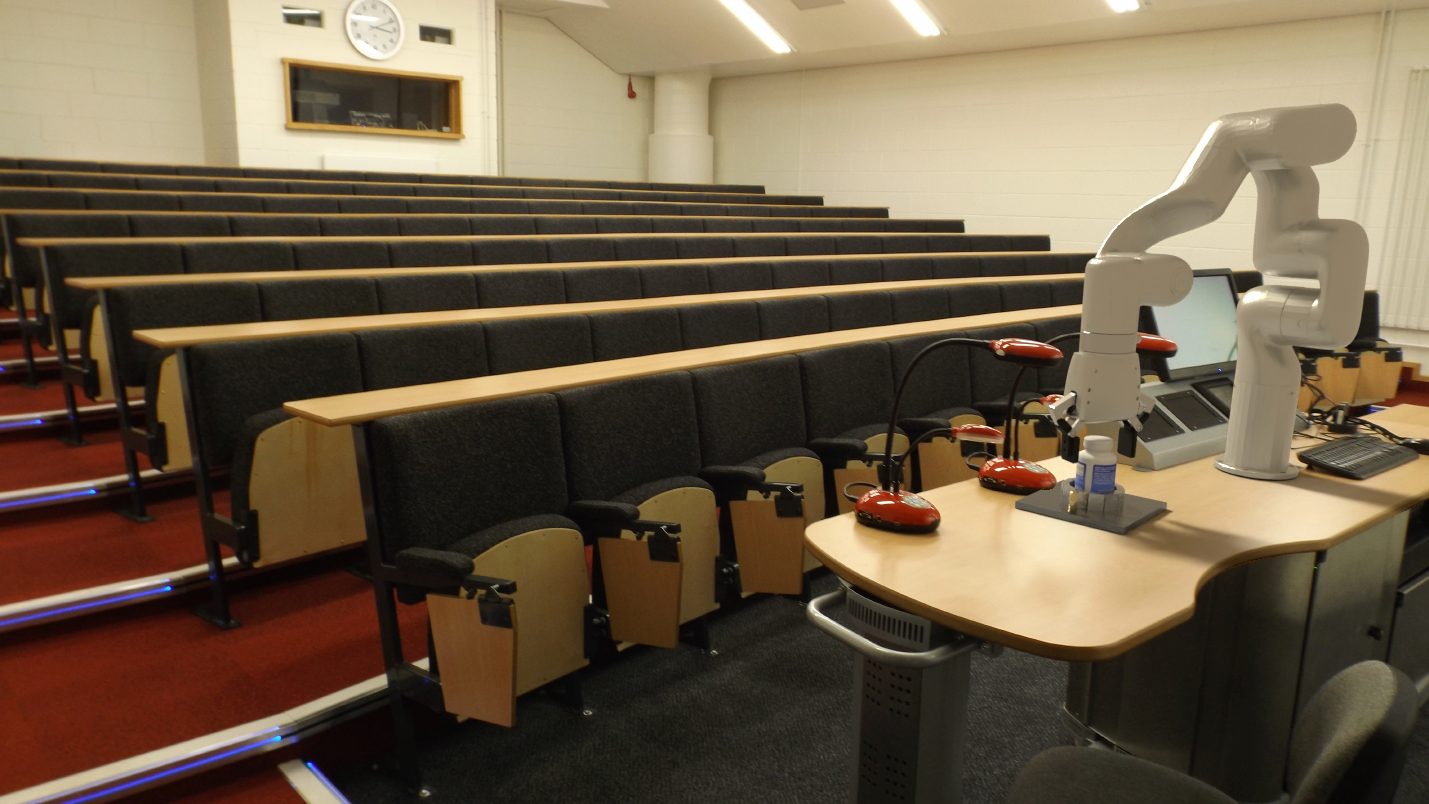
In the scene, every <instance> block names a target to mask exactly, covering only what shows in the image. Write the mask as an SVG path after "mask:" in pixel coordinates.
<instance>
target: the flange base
mask: <svg viewBox="0 0 1429 804" xmlns="http://www.w3.org/2000/svg"><path fill="white" fill-rule="evenodd" d="M1075 480H1076V477H1070V478H1066V479H1061V480H1060V481H1057V482H1055V483H1056V486H1055V487H1054V488H1053V489H1050V490H1042V489H1040V490H1038V491H1036V492H1033V493H1031V494H1029V495H1026V496H1025V497H1022V498H1020V499H1017V500H1016V501H1015V502H1014V509H1019V510H1023V511H1027V512H1030V513H1034V514H1039V515H1042V516H1045V517H1046V516H1047V517H1051V518H1055V519H1059V520H1063V521H1066V522H1069V523H1070V522H1071V523H1074V524H1079V525H1083V526H1087V527H1091V528H1094V529H1099V530H1103V531H1107V532H1111V533H1115V534H1120V535H1123V536H1124V535H1126V534H1128V533H1130V532H1131V531H1133V530H1134V529H1137V528H1138V527H1139V526H1141V525H1142V524H1144V523H1146V522H1148V521H1149V520H1150V519H1152V518H1154V517H1156V516H1157V515H1159V514H1161V513H1162V512H1164V511H1165V510H1167V507H1168V502H1167V501H1162V500H1156V499H1153V498H1147V497H1143V496H1140V495H1139V496H1138V495H1135V494H1129V493H1126V489H1125V488H1124V486H1123V485H1121V484H1118V483H1117V482H1115V487H1114V491H1113V492H1105V493H1099V492H1089V491H1084V490H1080V489H1076V488H1075Z"/></svg>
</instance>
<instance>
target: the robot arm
mask: <svg viewBox="0 0 1429 804" xmlns="http://www.w3.org/2000/svg"><path fill="white" fill-rule="evenodd" d="M1357 124H1358V123H1357V119H1356V117H1355V114H1354V113H1353V111H1352V109H1350V108H1349V107H1347V106H1346V105H1344V104H1341V103H1339V102H1338V103H1337V102H1333V103H1319V104H1309V105H1297V106H1296V105H1295V106H1280V107H1270V108H1263V109H1262V108H1261V109H1257V110H1256V109H1255V110H1252V111H1240V112H1233V113H1227V114H1224V115H1221V116H1218V117H1217V118H1215V119H1213V120H1212V121H1211V122H1210V123H1209V124H1208V125H1207V126H1206V128H1205V129H1204V130H1203V132H1202V134H1201V136H1200V137H1199V139H1198V140H1197V141H1196V142H1195V145H1194V147H1193V148H1192V150H1191V151H1190V152H1189V154H1188V156H1187V158H1186V160H1185V161H1184V162H1183V163H1182V166H1181V167H1180V168H1179V171H1178V172H1177V173H1176V175H1175V177H1174V179H1173V180H1172V182H1171V183H1170V185H1169V187H1167V189H1166V190H1164V191H1163V192H1161V193H1160V194H1158V195H1156V196H1154V197H1153V198H1151V199H1149V200H1148V201H1146V202H1145V203H1144V204H1142V205H1141V206H1139V207H1138V208H1136V209H1135V210H1133V211H1132V212H1131V213H1129V214H1128V215H1127V216H1125V217H1124V218H1123V219H1122V220H1120V221H1119V222H1118V223H1117V224H1116V225H1115V226H1114V227H1113V228H1112V229H1111V230H1110V232H1109V234H1108V236H1107V237H1106V238H1105V239H1104V241H1103V243H1102V245H1101V246H1100V248H1099V249H1098V251H1097V253H1096V254H1095V257H1093V258H1091V259H1090V260H1088V261H1087V263H1086V266H1085V268H1084V269H1085V270H1084V280H1083V281H1084V282H1083V293H1082V295H1083V296H1082V305H1081V319H1080V320H1081V321H1080V333H1079V346H1078V351H1074V352H1073V355H1072V357H1071V360H1070V363H1069V366H1068V371H1067V374H1066V375H1067V376H1066V380H1065V385H1064V386H1065V387H1064V392H1063V397H1062V398H1060V399H1058V400H1056V401H1055V402H1053V403H1052V404H1050V405H1049V406H1048V407H1047V409H1048V413H1049V416H1050V418H1051V419H1052V424H1053V425H1054V426H1055V427H1056V429H1057V430H1058V433H1060V434H1061V441H1060V442H1061V444H1060V457H1061V459H1062V460H1064V461H1066V462H1068V463H1071V464H1077V462H1078V460H1079V452H1080V445H1081V437H1080V436H1077V435H1078V434H1079V433H1080V431H1081V430H1082V429H1083V427H1085V425H1086V424H1100V423H1112V422H1120V424H1121V425H1122V426H1120V427H1119V429H1118V437H1117V438H1118V440H1117V448H1116V449H1117V450H1116V452H1117V453H1118V454H1119V455H1121V456H1124V457H1126V458H1128V459H1134V458H1136V453H1137V443H1138V442H1137V441H1138V434H1139V433H1138V432H1140V431H1142V430H1143V425H1144V424H1145V423H1146V422H1147V421H1148V419H1150V413H1152V410H1153V409H1154V407H1155V405H1156V400H1155V399H1153V398H1152V397H1151V396H1149V395H1146V394H1145V393H1143V392H1141V382H1142V381H1141V366H1140V365H1141V363H1140V357H1139V353H1137V351H1136V350H1137V344H1140V343H1141V342H1142V335H1141V334H1140V333H1138V329H1139V318H1140V307H1142V306H1145V307H1146V306H1147V307H1157V308H1165V307H1170V306H1174V305H1177V304H1178V303H1180V302H1182V301H1183V300H1184V299H1185V298H1187V296H1188V295H1189V293H1190V292H1191V290H1192V288H1193V285H1194V272H1193V270H1192V268H1191V266H1190V264H1189V263H1188V262H1187V261H1186V260H1184V259H1183V258H1182V257H1179V256H1176V255H1173V254H1165V253H1151V252H1146V251H1147V250H1148V249H1150V248H1151V247H1153V246H1154V245H1156V244H1158V243H1160V242H1162V241H1165V240H1167V239H1169V238H1172V237H1174V236H1175V237H1176V236H1178V235H1180V234H1181V235H1182V234H1184V233H1187V232H1191V231H1193V230H1196V229H1200V228H1202V227H1204V226H1207V225H1209V224H1212V223H1213V222H1216V221H1218V220H1219V219H1220V218H1221V217H1222V216H1223V215H1224V214H1225V212H1226V210H1227V209H1228V207H1229V205H1230V203H1231V202H1232V200H1233V198H1234V197H1235V195H1236V194H1237V192H1238V191H1239V188H1240V187H1241V185H1242V184H1243V182H1244V180H1245V179H1246V177H1247V176H1248V174H1249V173H1250V174H1251V176H1252V178H1253V180H1254V183H1255V184H1254V185H1256V192H1257V198H1256V201H1257V202H1256V213H1255V214H1256V215H1255V221H1254V223H1255V224H1254V236H1253V245H1252V261H1253V262H1252V263H1253V266H1254V268H1255V270H1257V272H1259V273H1260V274H1263V275H1266V276H1269V277H1276V278H1290V279H1301V280H1302V279H1303V280H1315V281H1317V280H1318V281H1319V288H1318V287H1305V286H1298V285H1286V284H1285V285H1284V284H1264V285H1258V286H1255V287H1253V288H1250V289H1249V290H1247V291H1246V292H1245V293H1244V294H1243V295H1242V296H1241V297H1240V298H1239V300H1238V303H1237V305H1236V310H1235V311H1236V312H1235V322H1236V323H1235V325H1236V334H1237V335H1236V336H1237V352H1236V353H1237V354H1236V355H1237V357H1236V365H1235V373H1234V380H1233V387H1232V397H1231V405H1230V412H1229V420H1228V428H1227V435H1226V436H1227V437H1226V442H1225V444H1226V445H1225V451H1224V454H1220V455H1217V456H1215V457H1214V459H1213V466H1214V467H1215V468H1216V469H1219V470H1220V471H1223V472H1225V473H1229V474H1232V475H1236V476H1241V477H1245V478H1250V479H1251V478H1252V479H1258V480H1259V479H1261V480H1270V481H1271V480H1273V481H1274V480H1275V481H1276V480H1277V481H1279V480H1280V481H1281V480H1282V481H1283V480H1290V479H1295V478H1297V477H1298V476H1299V472H1300V471H1299V468H1298V467H1297V466H1296V465H1295V464H1293V463H1291V462H1290V456H1291V451H1292V443H1293V435H1294V429H1295V428H1294V427H1295V422H1296V415H1297V408H1298V403H1299V394H1300V387H1301V383H1302V382H1301V381H1302V368H1301V363H1300V360H1299V358H1298V356H1297V354H1296V352H1295V350H1294V348H1293V347H1294V346H1295V347H1303V348H1310V349H1318V350H1329V351H1330V350H1331V351H1333V350H1334V351H1335V350H1336V351H1337V350H1340V349H1344V348H1346V347H1348V345H1350V344H1352V342H1353V341H1354V339H1355V337H1356V336H1357V334H1358V331H1359V328H1360V326H1361V325H1360V324H1361V320H1362V313H1363V306H1364V297H1365V291H1366V290H1365V289H1366V282H1367V277H1368V267H1369V258H1370V243H1369V238H1368V235H1367V233H1366V230H1365V228H1364V227H1363V226H1362V225H1361V224H1360V223H1358V222H1357V221H1353V220H1350V219H1346V218H1320V217H1319V202H1320V190H1321V188H1320V187H1321V186H1320V181H1319V179H1318V177H1317V175H1316V173H1315V171H1314V169H1313V168H1312V167H1315V166H1319V165H1324V164H1329V163H1334V162H1336V161H1337V160H1340V159H1341V158H1342V157H1344V156H1345V155H1346V154H1347V153H1348V152H1349V150H1350V149H1351V148H1352V147H1353V144H1354V142H1355V139H1356V135H1357V132H1358V130H1357V129H1358V126H1357ZM1064 417H1065V418H1064Z"/></svg>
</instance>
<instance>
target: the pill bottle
mask: <svg viewBox="0 0 1429 804" xmlns="http://www.w3.org/2000/svg"><path fill="white" fill-rule="evenodd" d="M1082 443H1083V447H1084V449H1083V450H1081V451H1080V450H1079V460H1078V462H1077V463H1076V469H1075V478H1076V480H1075V488H1076V489H1080V490H1084V491H1089V492H1099V493H1105V492H1113V491H1114V487H1115V483H1116V473H1117V472H1116V471H1117V464H1118V458H1117V455H1116V454H1115V453H1114V452H1112V450H1113V449H1114V448H1113V447H1114V439H1113V438H1112V437H1108V436H1103V435H1086V436H1085V437H1083V442H1082Z"/></svg>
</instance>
